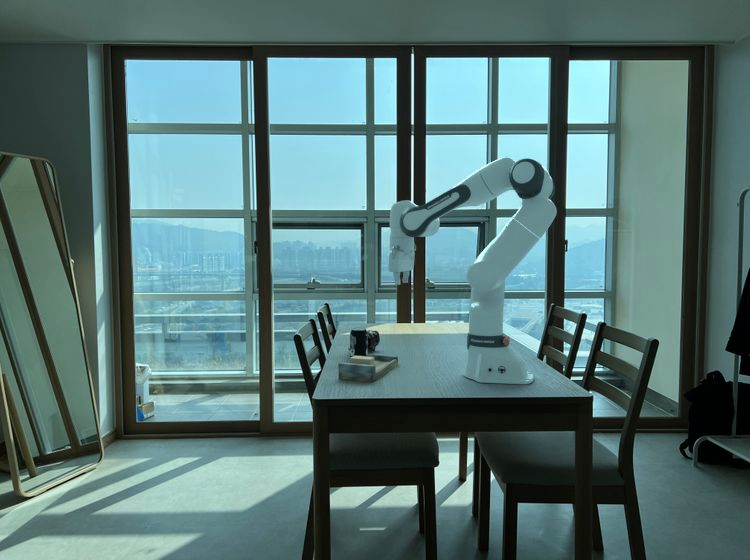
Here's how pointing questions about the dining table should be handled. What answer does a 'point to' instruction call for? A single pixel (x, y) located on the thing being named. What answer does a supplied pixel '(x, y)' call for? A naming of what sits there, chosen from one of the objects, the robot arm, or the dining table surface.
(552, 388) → the dining table surface
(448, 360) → the dining table surface
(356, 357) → the block
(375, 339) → the figurine
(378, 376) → the track
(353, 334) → the beverage can
